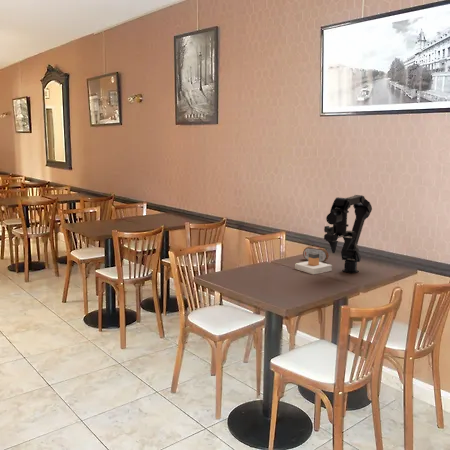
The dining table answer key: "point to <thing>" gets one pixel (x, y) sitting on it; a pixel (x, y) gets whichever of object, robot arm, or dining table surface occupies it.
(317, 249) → the tin
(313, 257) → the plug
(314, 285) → the dining table surface
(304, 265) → the socket block
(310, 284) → the dining table surface
